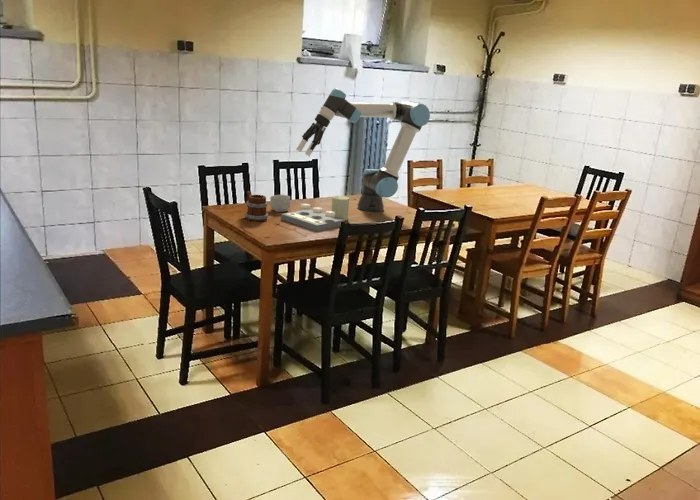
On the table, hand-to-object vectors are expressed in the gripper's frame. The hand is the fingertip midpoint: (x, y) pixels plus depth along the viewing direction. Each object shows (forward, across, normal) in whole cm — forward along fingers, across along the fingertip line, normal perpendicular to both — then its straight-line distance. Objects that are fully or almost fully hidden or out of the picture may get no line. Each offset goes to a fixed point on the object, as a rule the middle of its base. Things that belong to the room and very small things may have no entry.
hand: (302, 152), depth 303 cm
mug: (+42, 0, -4) cm, 42 cm away
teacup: (+32, -15, +12) cm, 38 cm away
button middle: (+22, +10, +20) cm, 31 cm away
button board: (+27, +12, +20) cm, 36 cm away
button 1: (+24, +2, +16) cm, 29 cm away
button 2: (+20, +19, +23) cm, 36 cm away
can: (+19, +6, +35) cm, 40 cm away
